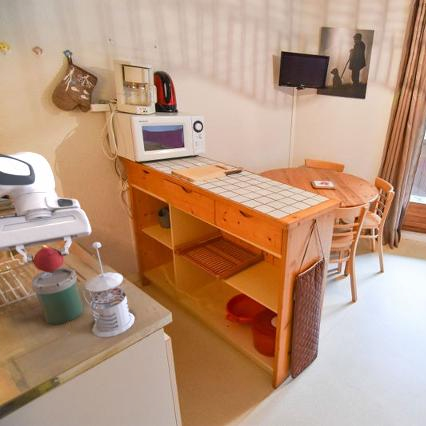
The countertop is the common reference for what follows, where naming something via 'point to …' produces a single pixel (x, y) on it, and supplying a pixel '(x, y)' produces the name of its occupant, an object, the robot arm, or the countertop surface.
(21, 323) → the countertop surface
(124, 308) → the french press
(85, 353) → the countertop surface
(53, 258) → the onion
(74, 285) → the jar
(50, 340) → the countertop surface
